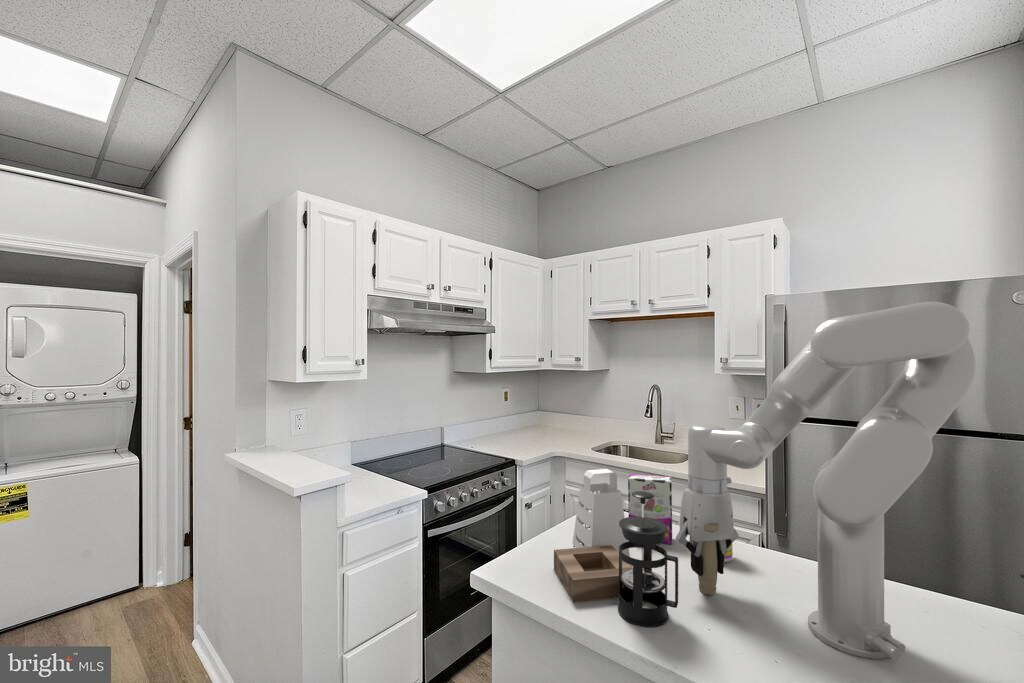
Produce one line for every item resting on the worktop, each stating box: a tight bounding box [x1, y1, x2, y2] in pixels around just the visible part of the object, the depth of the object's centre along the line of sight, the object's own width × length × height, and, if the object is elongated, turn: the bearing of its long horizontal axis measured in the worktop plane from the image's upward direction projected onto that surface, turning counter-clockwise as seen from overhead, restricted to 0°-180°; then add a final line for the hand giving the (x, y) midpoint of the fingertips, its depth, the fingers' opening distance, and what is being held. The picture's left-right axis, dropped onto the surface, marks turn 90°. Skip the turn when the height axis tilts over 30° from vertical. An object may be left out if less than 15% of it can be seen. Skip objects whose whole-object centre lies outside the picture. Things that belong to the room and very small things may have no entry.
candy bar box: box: [627, 473, 673, 545], centre depth 123 cm, size 11×5×16 cm, turn 73°
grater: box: [571, 468, 631, 557], centre depth 116 cm, size 10×10×20 cm
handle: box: [697, 524, 719, 596], centre depth 97 cm, size 5×6×15 cm
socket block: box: [553, 545, 633, 604], centre depth 100 cm, size 14×14×4 cm
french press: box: [617, 491, 679, 628], centre depth 89 cm, size 12×9×23 cm
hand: (707, 571), depth 97 cm, fingers closed on handle, 4 cm apart
